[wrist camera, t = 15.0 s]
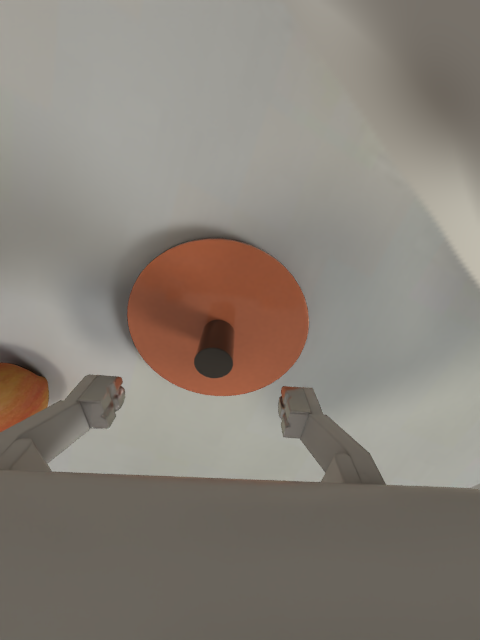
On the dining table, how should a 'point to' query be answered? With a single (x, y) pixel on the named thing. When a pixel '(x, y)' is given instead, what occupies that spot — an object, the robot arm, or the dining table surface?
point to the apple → (20, 394)
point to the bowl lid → (218, 317)
